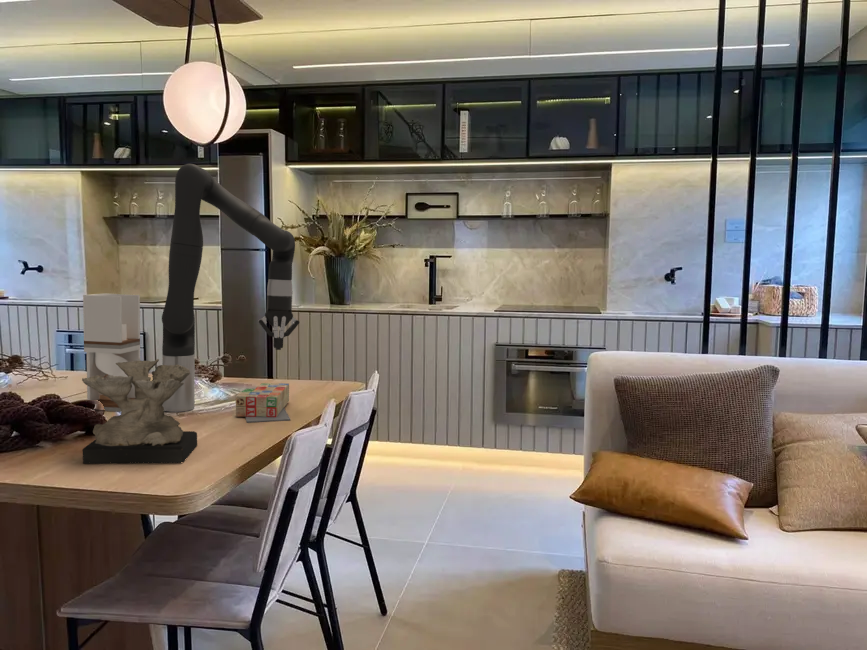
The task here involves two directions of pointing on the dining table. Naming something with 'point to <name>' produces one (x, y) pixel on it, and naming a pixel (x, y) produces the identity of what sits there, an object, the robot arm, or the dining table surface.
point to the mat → (269, 418)
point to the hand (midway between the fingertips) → (277, 349)
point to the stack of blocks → (262, 400)
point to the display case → (110, 338)
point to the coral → (140, 418)
